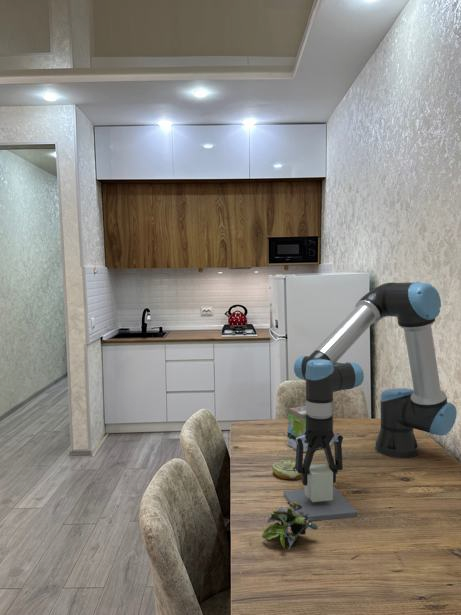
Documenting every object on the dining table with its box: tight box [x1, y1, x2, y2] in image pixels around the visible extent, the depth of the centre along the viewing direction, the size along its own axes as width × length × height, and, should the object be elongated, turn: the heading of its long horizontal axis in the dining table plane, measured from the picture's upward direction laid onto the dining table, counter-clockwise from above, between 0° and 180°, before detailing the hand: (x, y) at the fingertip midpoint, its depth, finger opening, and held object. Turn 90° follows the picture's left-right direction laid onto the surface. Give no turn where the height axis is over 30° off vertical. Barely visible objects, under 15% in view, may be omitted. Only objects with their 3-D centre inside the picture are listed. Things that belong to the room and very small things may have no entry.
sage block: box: [308, 463, 334, 502], centre depth 134 cm, size 6×6×8 cm
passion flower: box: [261, 501, 319, 553], centre depth 115 cm, size 11×11×12 cm
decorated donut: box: [272, 459, 303, 481], centre depth 156 cm, size 10×11×4 cm
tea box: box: [286, 405, 334, 453], centre depth 182 cm, size 15×10×15 cm, turn 120°
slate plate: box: [283, 486, 358, 522], centre depth 134 cm, size 16×16×1 cm
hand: (318, 494), depth 134 cm, fingers closed on sage block, 6 cm apart
